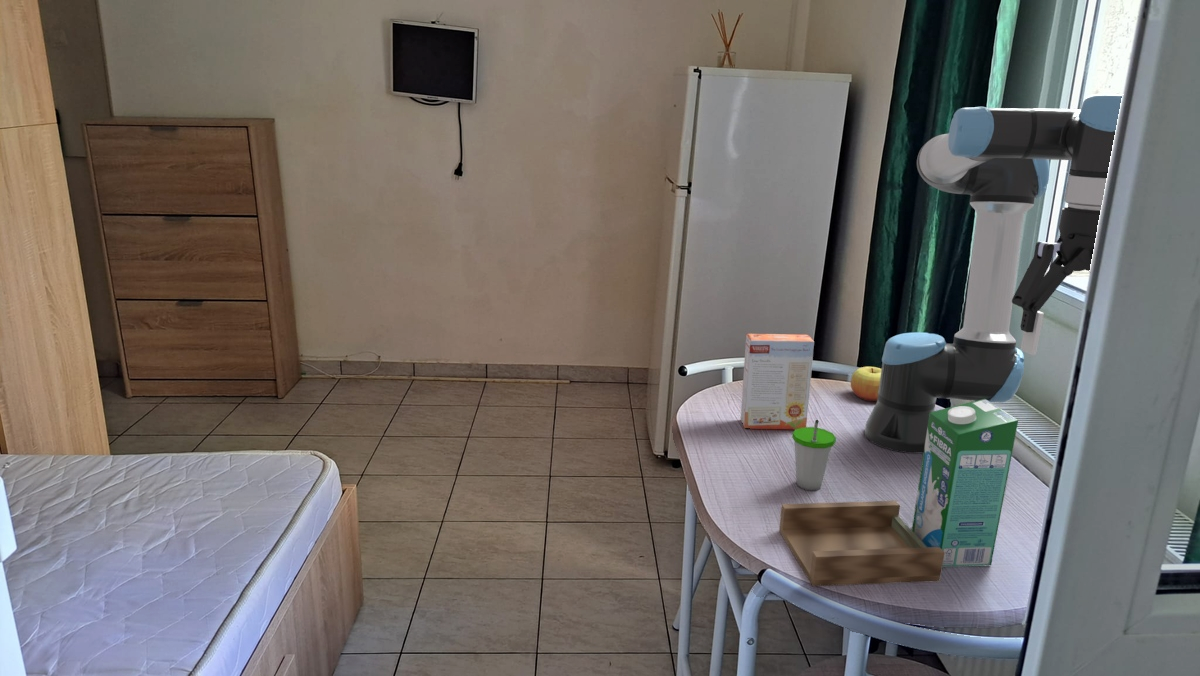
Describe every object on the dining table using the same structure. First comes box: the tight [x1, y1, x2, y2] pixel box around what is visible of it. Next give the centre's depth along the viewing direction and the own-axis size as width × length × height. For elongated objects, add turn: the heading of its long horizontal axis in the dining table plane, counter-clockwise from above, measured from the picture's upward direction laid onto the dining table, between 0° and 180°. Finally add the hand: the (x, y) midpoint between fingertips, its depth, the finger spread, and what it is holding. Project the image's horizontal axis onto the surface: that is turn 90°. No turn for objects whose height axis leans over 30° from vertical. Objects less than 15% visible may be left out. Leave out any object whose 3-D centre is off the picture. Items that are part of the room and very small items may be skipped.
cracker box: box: [740, 333, 815, 430], centre depth 174 cm, size 14×6×21 cm, turn 89°
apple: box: [850, 366, 882, 402], centre depth 194 cm, size 10×10×8 cm
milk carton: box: [911, 399, 1019, 568], centre depth 124 cm, size 9×9×25 cm
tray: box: [778, 500, 945, 587], centre depth 125 cm, size 20×16×5 cm
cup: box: [791, 419, 837, 491], centre depth 147 cm, size 8×8×15 cm
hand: (1063, 352), depth 119 cm, fingers open, 11 cm apart
